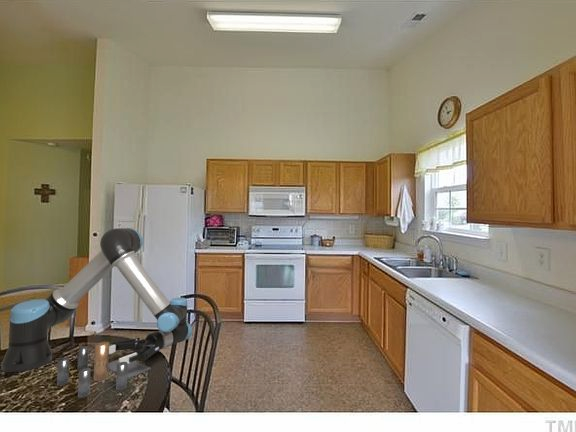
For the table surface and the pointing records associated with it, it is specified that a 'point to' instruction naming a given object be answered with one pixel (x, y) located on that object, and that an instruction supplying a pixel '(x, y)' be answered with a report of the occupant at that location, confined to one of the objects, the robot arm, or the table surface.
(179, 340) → the robot arm
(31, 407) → the table surface
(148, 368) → the rubber mat
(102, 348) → the cylinder
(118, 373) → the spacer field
